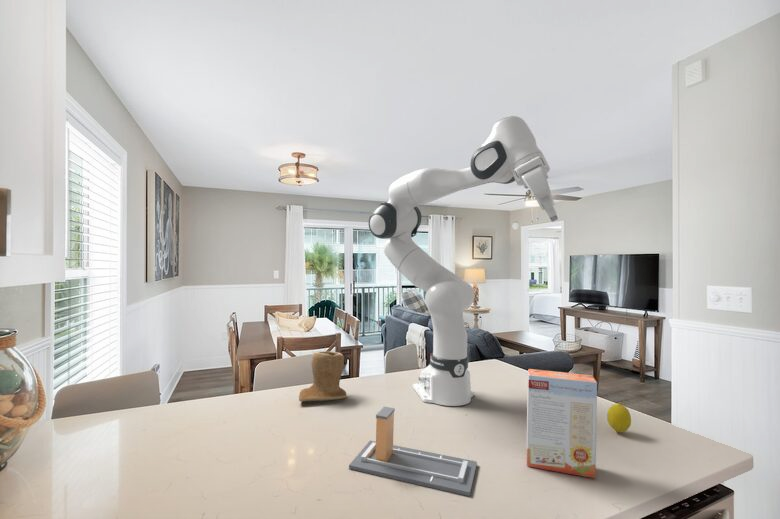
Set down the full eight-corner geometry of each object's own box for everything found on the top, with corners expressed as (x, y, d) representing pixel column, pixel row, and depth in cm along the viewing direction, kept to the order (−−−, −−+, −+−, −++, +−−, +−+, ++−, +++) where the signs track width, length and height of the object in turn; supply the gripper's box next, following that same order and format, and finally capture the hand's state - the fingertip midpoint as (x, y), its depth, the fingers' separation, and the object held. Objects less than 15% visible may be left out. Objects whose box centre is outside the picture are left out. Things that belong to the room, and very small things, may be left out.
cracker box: (591, 465, 87) (593, 374, 87) (595, 480, 81) (598, 382, 81) (525, 453, 91) (528, 366, 91) (525, 466, 86) (528, 374, 86)
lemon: (634, 438, 101) (635, 408, 101) (611, 436, 102) (612, 406, 102) (625, 429, 106) (626, 400, 106) (603, 427, 107) (604, 398, 107)
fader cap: (374, 461, 85) (375, 415, 85) (383, 450, 90) (384, 406, 90) (385, 463, 84) (386, 416, 84) (393, 452, 89) (394, 408, 89)
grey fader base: (349, 468, 83) (349, 460, 83) (370, 443, 94) (370, 436, 94) (469, 496, 75) (469, 487, 75) (476, 465, 86) (477, 457, 86)
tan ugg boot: (343, 390, 132) (344, 346, 132) (348, 403, 120) (349, 355, 120) (298, 392, 128) (299, 348, 128) (298, 406, 116) (299, 357, 116)
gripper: (524, 185, 111) (545, 228, 108) (514, 168, 93) (538, 218, 90) (545, 174, 109) (567, 218, 106) (539, 154, 90) (565, 206, 87)
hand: (554, 218), depth 98 cm, fingers open, 8 cm apart
